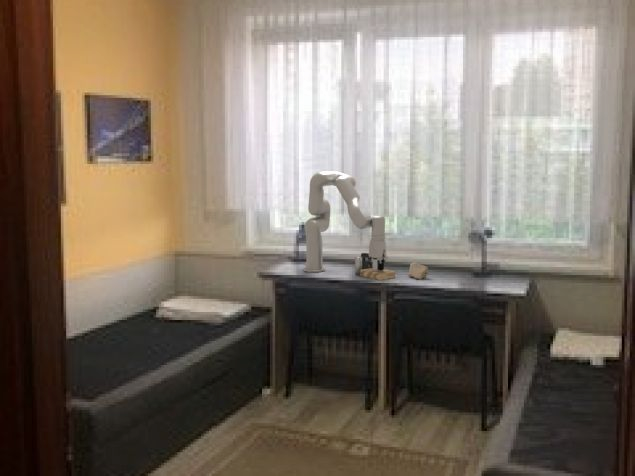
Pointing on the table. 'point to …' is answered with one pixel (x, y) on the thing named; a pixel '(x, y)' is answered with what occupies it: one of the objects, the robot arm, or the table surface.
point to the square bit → (376, 265)
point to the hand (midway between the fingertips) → (377, 269)
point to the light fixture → (366, 261)
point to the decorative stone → (418, 271)
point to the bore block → (377, 274)
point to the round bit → (358, 265)
